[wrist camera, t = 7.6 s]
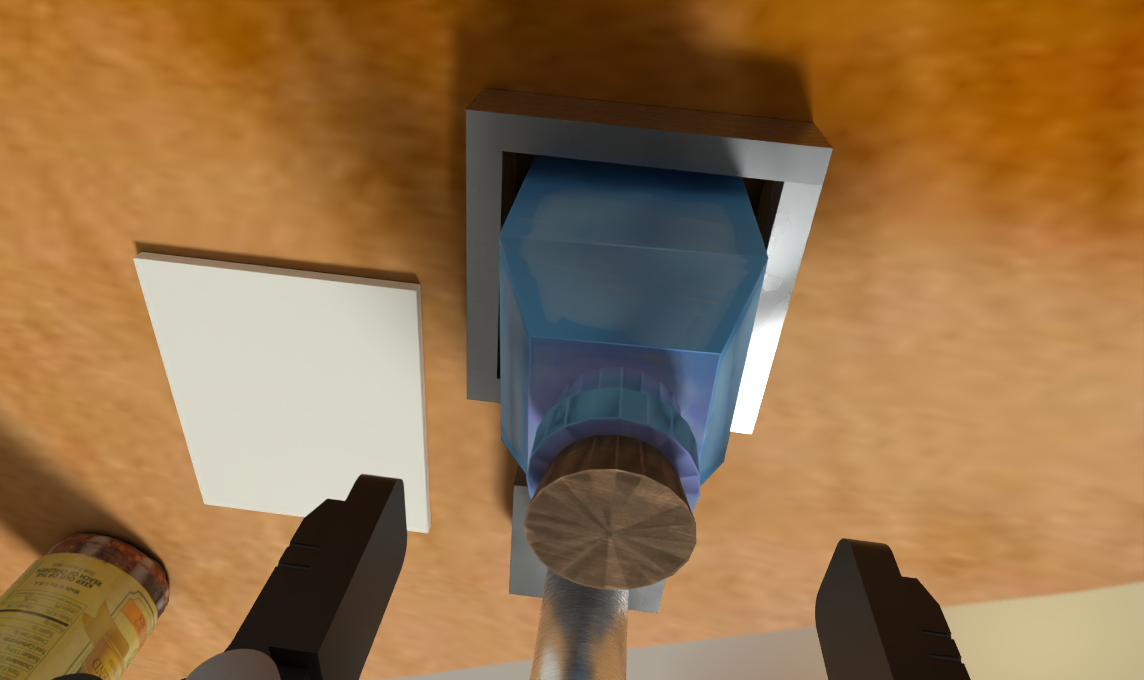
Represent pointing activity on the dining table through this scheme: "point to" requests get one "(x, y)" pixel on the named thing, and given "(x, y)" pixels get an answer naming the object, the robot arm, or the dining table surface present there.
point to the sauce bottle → (80, 610)
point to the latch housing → (643, 139)
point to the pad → (292, 381)
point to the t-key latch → (580, 632)
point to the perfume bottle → (622, 357)
